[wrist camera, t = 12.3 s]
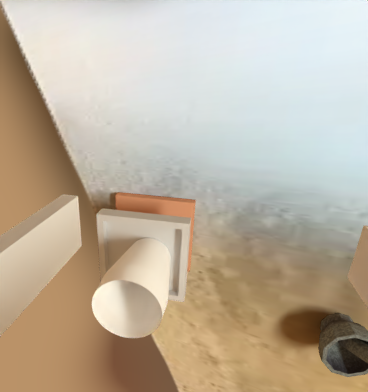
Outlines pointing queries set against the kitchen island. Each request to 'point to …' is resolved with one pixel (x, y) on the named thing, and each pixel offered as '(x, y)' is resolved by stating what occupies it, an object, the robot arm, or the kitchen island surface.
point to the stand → (148, 233)
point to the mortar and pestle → (343, 345)
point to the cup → (134, 290)
